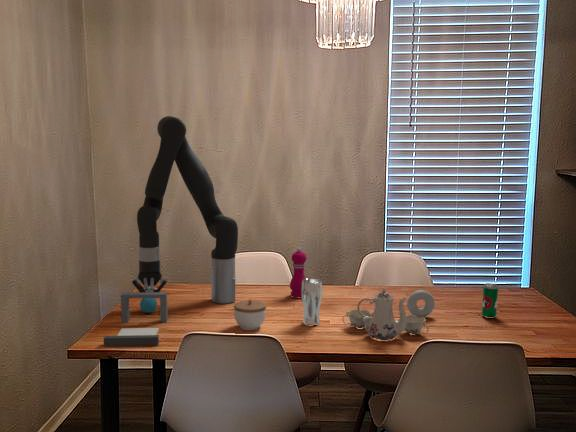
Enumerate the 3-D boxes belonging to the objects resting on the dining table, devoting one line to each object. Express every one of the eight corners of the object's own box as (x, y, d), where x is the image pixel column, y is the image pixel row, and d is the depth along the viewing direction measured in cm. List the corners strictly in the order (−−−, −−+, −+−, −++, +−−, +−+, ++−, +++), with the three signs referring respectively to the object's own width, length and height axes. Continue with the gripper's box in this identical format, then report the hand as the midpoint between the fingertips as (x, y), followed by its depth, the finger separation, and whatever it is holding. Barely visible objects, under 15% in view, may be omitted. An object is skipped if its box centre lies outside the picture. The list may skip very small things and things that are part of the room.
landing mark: (159, 328, 180) (159, 327, 180) (153, 341, 169) (153, 340, 169) (121, 329, 179) (121, 328, 179) (113, 341, 168) (113, 341, 168)
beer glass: (323, 321, 190) (324, 279, 188) (318, 327, 183) (319, 284, 181) (304, 319, 192) (305, 277, 190) (298, 325, 185) (299, 282, 183)
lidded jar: (254, 334, 176) (254, 306, 174) (227, 329, 181) (227, 301, 180) (271, 325, 185) (272, 298, 184) (245, 320, 190) (245, 294, 189)
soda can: (497, 319, 194) (499, 286, 192) (482, 318, 195) (484, 286, 193) (495, 315, 199) (497, 283, 197) (480, 314, 200) (482, 282, 198)
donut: (432, 315, 198) (433, 288, 196) (435, 318, 194) (436, 291, 193) (405, 315, 197) (406, 288, 196) (407, 318, 194) (409, 291, 192)
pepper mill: (305, 299, 217) (306, 249, 214) (287, 298, 218) (288, 248, 216) (308, 294, 224) (309, 246, 221) (291, 293, 225) (292, 245, 223)
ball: (158, 293, 200) (154, 298, 194) (159, 309, 200) (155, 314, 195) (141, 294, 200) (137, 299, 194) (142, 310, 200) (138, 315, 194)
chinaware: (427, 335, 182) (429, 285, 182) (429, 347, 166) (431, 293, 166) (343, 328, 188) (345, 280, 188) (337, 339, 172) (339, 287, 171)
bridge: (123, 319, 189) (122, 292, 188) (167, 319, 190) (167, 292, 189) (121, 322, 186) (120, 294, 185) (166, 322, 187) (165, 294, 186)
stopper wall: (158, 342, 167) (158, 335, 167) (157, 345, 165) (157, 337, 165) (105, 343, 166) (105, 335, 166) (103, 346, 164) (103, 338, 164)
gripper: (128, 260, 195) (129, 307, 198) (165, 260, 196) (166, 307, 198) (133, 256, 203) (134, 301, 205) (169, 256, 203) (170, 301, 206)
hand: (150, 304), depth 202 cm, fingers closed
